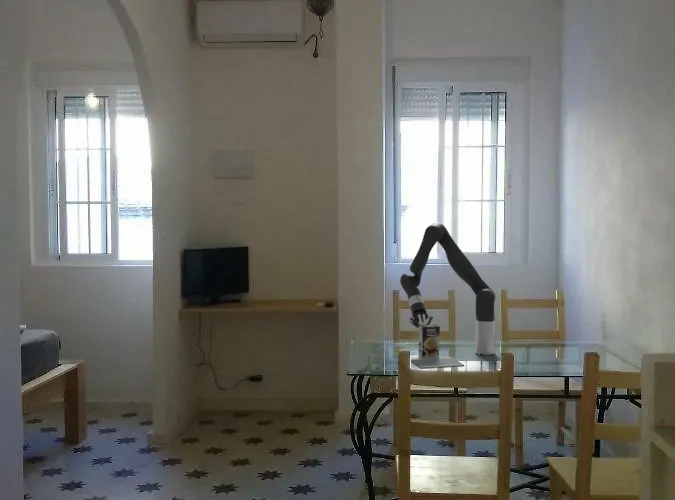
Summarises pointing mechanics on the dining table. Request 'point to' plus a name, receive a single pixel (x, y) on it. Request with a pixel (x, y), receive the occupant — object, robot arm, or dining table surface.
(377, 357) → the dining table surface
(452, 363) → the mat
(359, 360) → the dining table surface
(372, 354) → the dining table surface
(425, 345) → the coffee box
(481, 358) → the dining table surface
